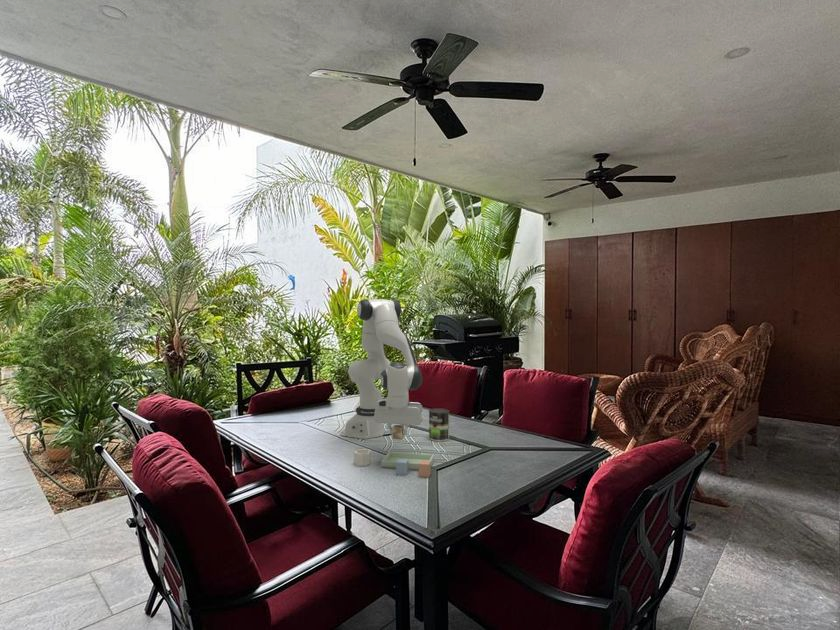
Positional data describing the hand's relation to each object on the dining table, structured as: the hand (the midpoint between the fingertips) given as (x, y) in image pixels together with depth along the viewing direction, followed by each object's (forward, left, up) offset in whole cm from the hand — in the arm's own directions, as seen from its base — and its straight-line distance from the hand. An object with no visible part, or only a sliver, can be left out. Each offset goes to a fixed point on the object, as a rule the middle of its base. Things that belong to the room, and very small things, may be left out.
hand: (398, 434), depth 184 cm
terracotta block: (+13, -10, -13) cm, 21 cm away
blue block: (+4, -10, -13) cm, 16 cm away
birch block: (0, 0, -2) cm, 2 cm away
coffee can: (+11, +38, -13) cm, 42 cm away
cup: (-15, -3, -12) cm, 19 cm away
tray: (+4, 0, -12) cm, 13 cm away
